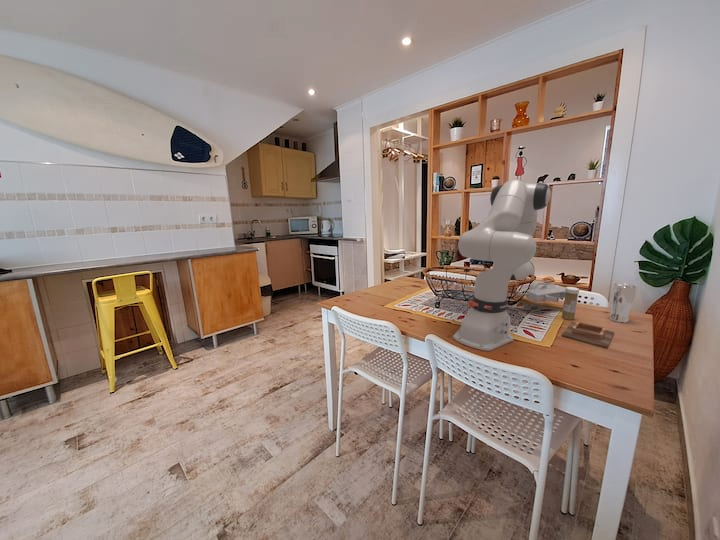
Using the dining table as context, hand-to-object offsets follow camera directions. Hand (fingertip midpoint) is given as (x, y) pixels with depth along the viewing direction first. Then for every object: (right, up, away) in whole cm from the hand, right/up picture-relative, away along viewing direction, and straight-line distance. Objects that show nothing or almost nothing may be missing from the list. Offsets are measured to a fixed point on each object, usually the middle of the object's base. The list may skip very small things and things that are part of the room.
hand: (565, 299), depth 121 cm
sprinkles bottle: (+1, -8, 0) cm, 8 cm away
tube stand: (-3, -12, -16) cm, 20 cm away
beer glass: (+20, -9, -3) cm, 22 cm away
